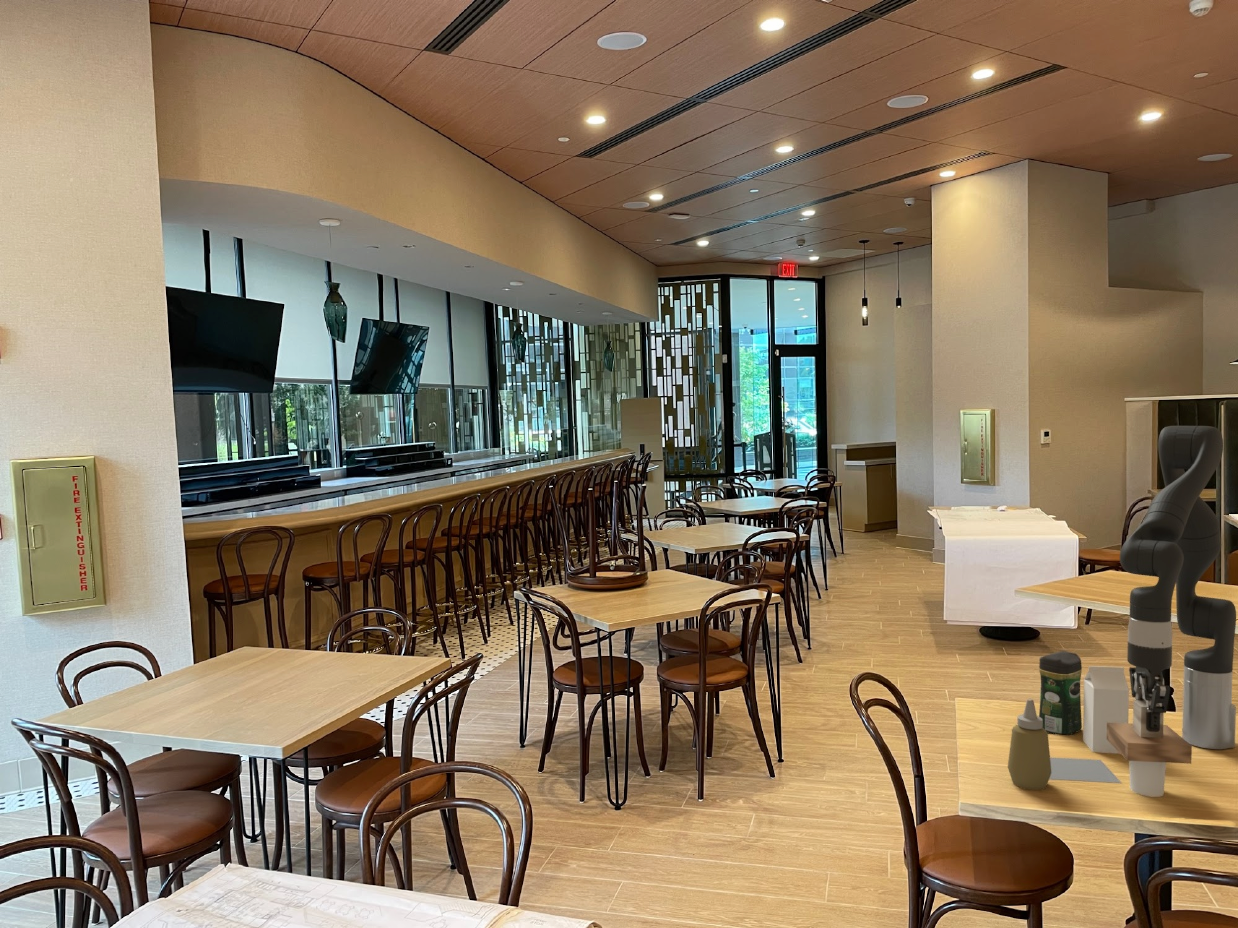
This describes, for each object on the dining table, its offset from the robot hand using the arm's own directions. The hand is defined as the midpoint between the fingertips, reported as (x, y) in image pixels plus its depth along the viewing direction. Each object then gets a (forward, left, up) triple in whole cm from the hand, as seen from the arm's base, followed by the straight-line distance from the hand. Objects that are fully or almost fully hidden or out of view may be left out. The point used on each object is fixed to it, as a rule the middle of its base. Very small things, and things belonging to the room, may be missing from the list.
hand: (1148, 726), depth 176 cm
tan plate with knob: (0, 0, -5) cm, 5 cm away
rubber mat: (+11, -9, -14) cm, 19 cm away
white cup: (0, 0, -14) cm, 14 cm away
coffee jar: (+6, -35, -14) cm, 38 cm away
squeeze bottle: (+22, 0, -14) cm, 26 cm away
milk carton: (0, -23, -14) cm, 27 cm away
